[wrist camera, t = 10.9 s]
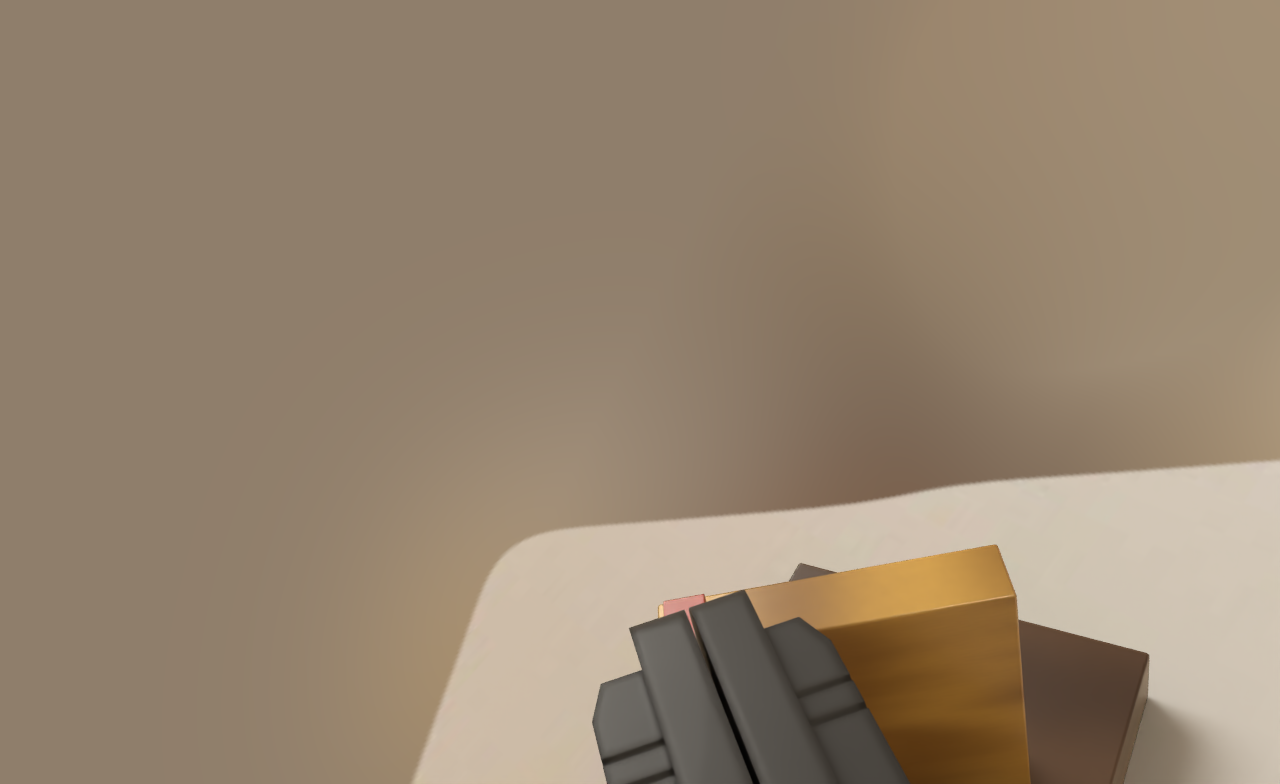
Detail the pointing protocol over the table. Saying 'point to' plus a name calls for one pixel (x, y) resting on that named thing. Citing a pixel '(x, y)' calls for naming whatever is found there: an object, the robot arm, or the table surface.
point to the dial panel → (1074, 702)
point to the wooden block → (922, 657)
